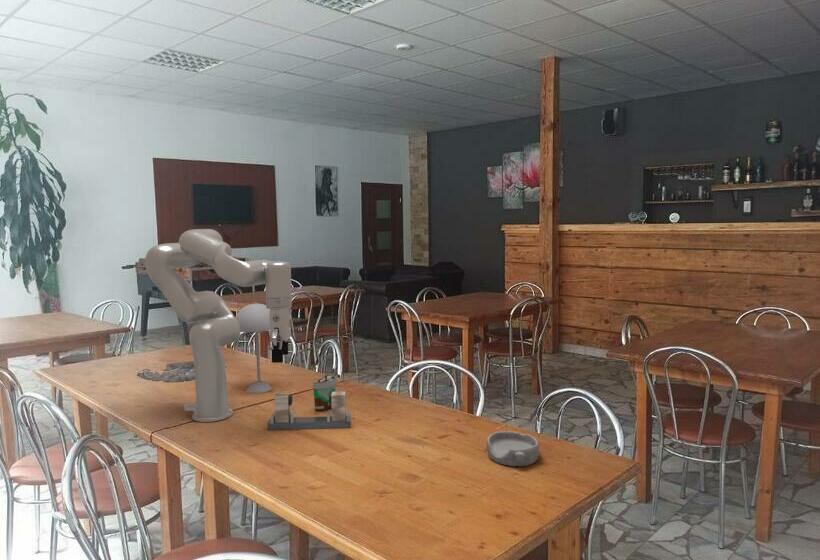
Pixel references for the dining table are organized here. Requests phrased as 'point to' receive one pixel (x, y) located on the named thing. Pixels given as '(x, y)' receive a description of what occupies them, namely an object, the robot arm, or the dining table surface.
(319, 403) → the food container
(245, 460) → the dining table surface
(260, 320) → the lamp
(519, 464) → the dish
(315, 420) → the rail
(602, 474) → the dining table surface
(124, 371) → the dining table surface
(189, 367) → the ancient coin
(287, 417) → the block
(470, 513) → the dining table surface
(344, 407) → the block
